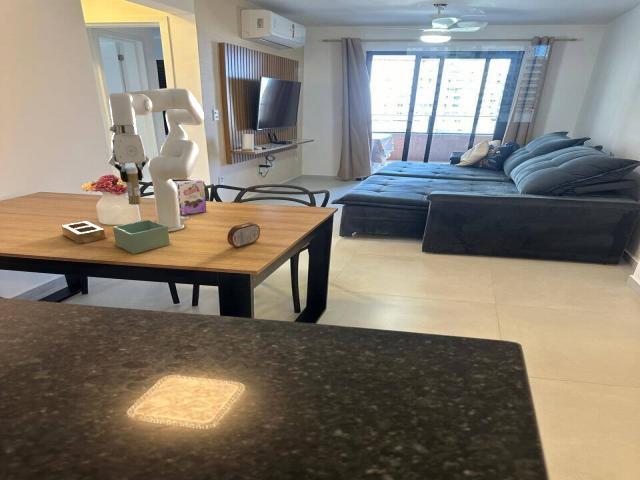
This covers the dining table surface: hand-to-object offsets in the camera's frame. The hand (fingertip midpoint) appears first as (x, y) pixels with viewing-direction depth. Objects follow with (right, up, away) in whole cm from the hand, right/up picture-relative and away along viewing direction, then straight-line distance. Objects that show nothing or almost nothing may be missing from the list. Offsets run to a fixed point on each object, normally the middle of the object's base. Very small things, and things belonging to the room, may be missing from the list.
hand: (132, 180), depth 142 cm
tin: (+40, -24, +11) cm, 48 cm away
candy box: (+4, -8, +55) cm, 56 cm away
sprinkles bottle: (0, -9, +3) cm, 9 cm away
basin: (0, -24, +8) cm, 25 cm away
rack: (-27, -21, +15) cm, 38 cm away
